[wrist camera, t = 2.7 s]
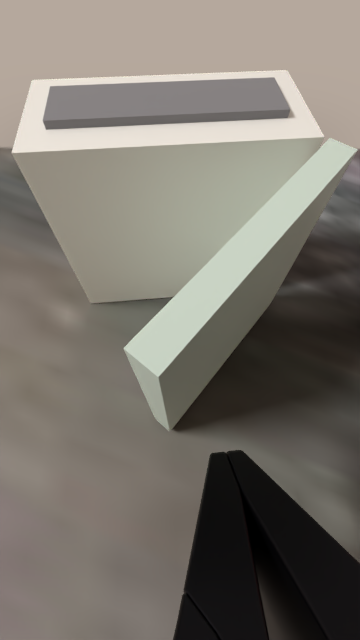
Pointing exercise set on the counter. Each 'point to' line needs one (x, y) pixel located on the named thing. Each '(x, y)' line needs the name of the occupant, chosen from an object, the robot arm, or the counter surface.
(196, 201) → the box
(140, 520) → the counter surface
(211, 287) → the door
